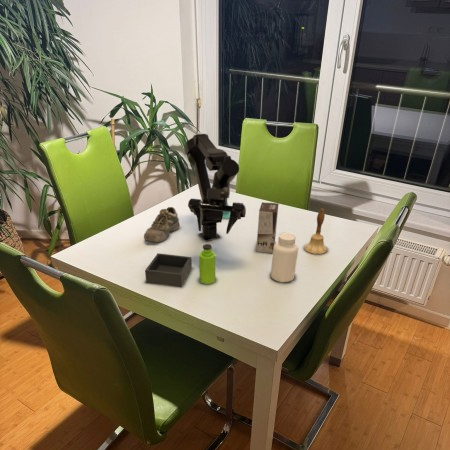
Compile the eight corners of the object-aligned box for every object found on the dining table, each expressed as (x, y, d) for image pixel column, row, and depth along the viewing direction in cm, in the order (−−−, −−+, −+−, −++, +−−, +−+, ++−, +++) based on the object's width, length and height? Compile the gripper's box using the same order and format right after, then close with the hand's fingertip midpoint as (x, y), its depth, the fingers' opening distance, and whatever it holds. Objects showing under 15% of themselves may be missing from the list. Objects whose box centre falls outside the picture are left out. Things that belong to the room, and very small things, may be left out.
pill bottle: (288, 285, 134) (293, 243, 126) (266, 278, 137) (270, 237, 129) (298, 274, 140) (303, 234, 131) (276, 268, 143) (280, 228, 135)
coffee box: (272, 253, 152) (276, 212, 143) (255, 251, 153) (258, 210, 144) (275, 242, 160) (279, 202, 151) (259, 241, 161) (261, 201, 152)
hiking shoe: (134, 236, 157) (146, 212, 150) (161, 222, 174) (174, 199, 167) (152, 252, 157) (166, 228, 150) (178, 235, 174) (191, 214, 167)
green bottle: (197, 278, 137) (196, 244, 130) (211, 274, 139) (210, 241, 132) (203, 285, 133) (203, 251, 126) (218, 281, 135) (218, 247, 128)
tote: (158, 264, 144) (157, 253, 141) (191, 268, 142) (191, 257, 140) (146, 282, 134) (144, 270, 132) (181, 286, 132) (181, 274, 130)
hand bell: (306, 242, 160) (312, 203, 151) (328, 246, 158) (335, 206, 149) (302, 252, 154) (308, 211, 145) (325, 255, 151) (332, 215, 142)
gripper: (188, 174, 131) (180, 220, 129) (246, 179, 128) (238, 226, 126) (195, 190, 142) (187, 232, 139) (248, 194, 139) (242, 238, 136)
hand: (213, 232), depth 135 cm, fingers open, 9 cm apart
